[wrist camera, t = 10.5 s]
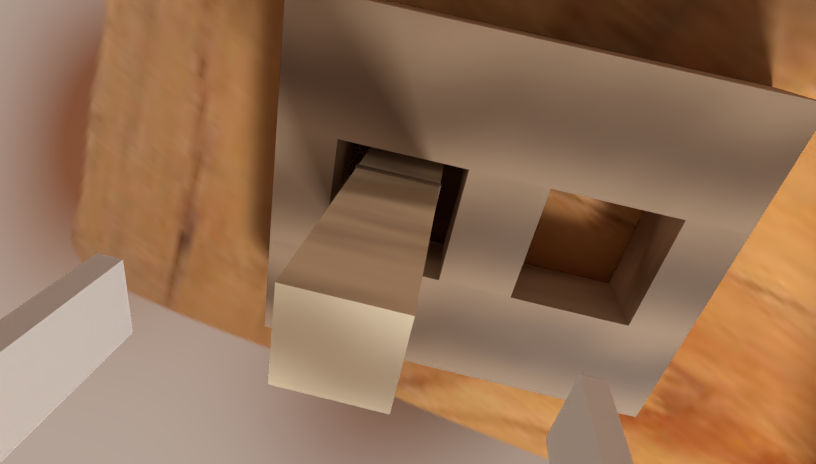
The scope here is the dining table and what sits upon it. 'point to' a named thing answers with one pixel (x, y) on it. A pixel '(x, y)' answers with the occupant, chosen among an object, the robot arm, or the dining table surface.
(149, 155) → the dining table surface
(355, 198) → the peg
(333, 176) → the board
